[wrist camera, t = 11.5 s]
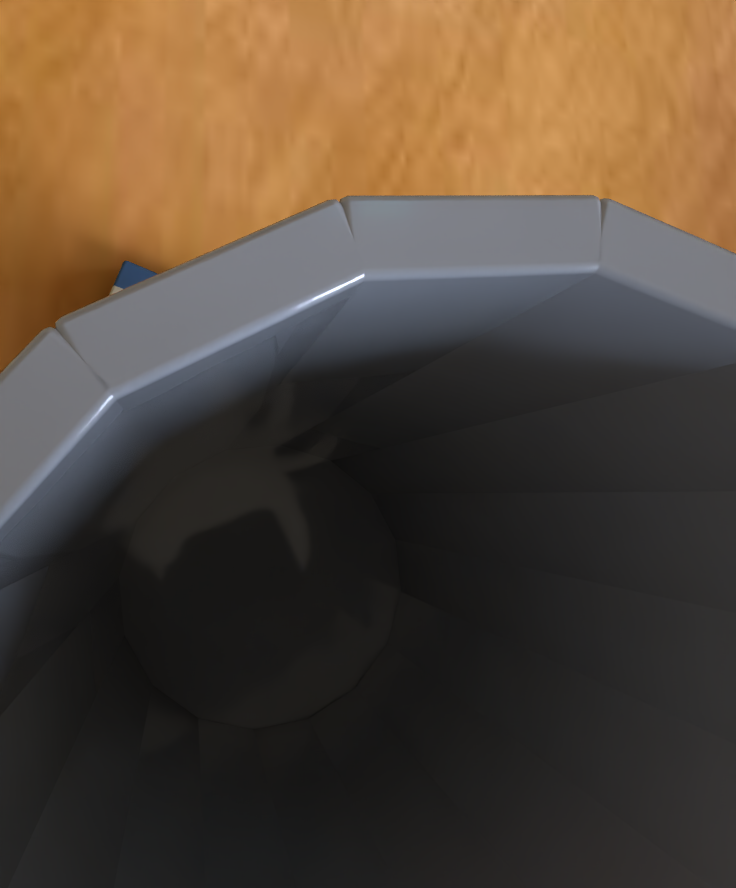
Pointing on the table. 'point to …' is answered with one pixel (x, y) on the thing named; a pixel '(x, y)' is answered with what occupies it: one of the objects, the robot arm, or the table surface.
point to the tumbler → (379, 560)
